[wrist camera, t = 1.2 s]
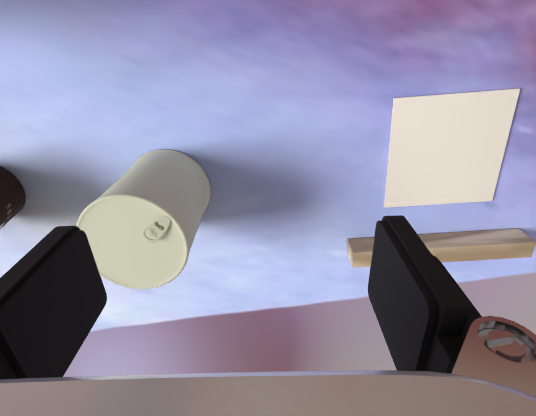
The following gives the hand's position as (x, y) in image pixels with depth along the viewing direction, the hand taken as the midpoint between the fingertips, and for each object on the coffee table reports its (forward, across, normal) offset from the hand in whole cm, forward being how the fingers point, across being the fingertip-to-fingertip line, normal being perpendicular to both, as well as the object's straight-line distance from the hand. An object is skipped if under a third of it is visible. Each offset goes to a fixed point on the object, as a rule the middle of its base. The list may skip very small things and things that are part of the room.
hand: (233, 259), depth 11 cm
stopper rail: (+25, -20, +16) cm, 36 cm away
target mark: (+25, -20, +6) cm, 32 cm away
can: (+26, +10, +9) cm, 29 cm away
